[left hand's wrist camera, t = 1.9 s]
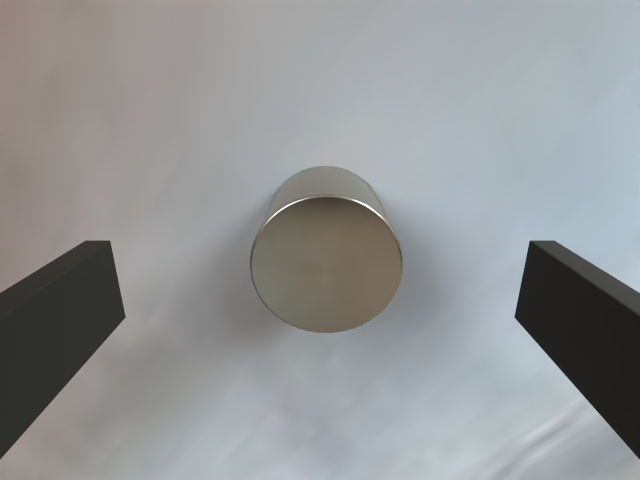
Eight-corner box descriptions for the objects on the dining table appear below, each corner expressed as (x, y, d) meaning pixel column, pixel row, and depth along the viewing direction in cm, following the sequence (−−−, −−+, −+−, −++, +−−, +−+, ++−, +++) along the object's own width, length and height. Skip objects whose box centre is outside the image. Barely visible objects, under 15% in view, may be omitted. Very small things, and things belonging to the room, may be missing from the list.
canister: (258, 173, 15) (234, 205, 11) (378, 158, 15) (398, 185, 11) (278, 279, 17) (264, 340, 13) (386, 267, 17) (406, 326, 13)
